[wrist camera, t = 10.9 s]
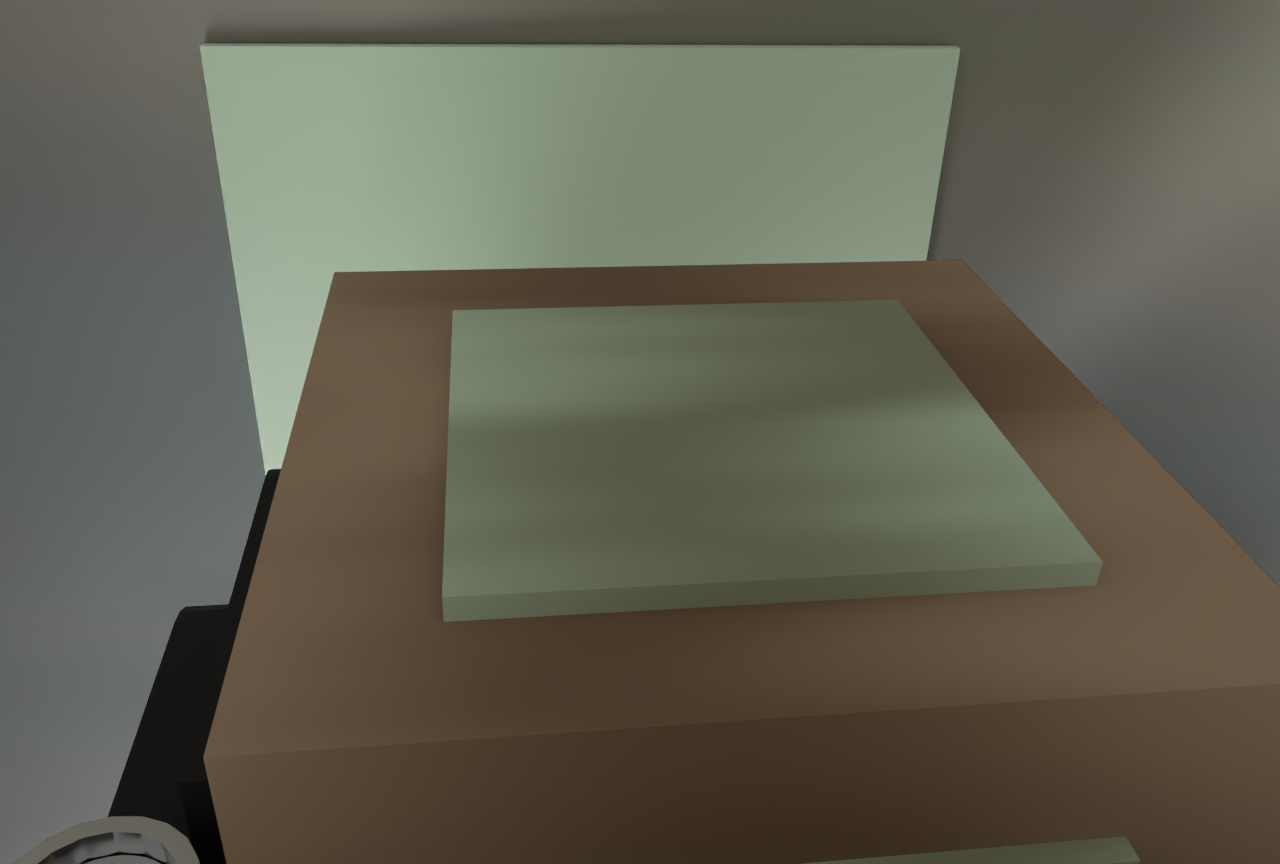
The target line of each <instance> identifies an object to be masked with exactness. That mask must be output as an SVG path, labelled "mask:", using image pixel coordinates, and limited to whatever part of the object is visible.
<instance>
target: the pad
mask: <svg viewBox="0 0 1280 864" xmlns="http://www.w3.org/2000/svg"><path fill="white" fill-rule="evenodd" d="M960 49H961V48H959V47H957V46H888V45H571V44H254V43H202V44H201V45H200V53H201V59H202V66H203V72H204V79H205V85H206V92H207V98H208V105H209V111H210V118H211V124H212V131H213V137H214V144H215V150H216V157H217V163H218V170H219V176H220V183H221V189H222V196H223V202H224V209H225V215H226V222H227V228H228V235H229V241H230V248H231V254H232V261H233V267H234V274H235V280H236V287H237V293H238V300H239V306H240V313H241V319H242V326H243V332H244V339H245V345H246V352H247V358H248V365H249V371H250V378H251V384H252V391H253V397H254V404H255V410H256V417H257V423H258V430H259V436H260V443H261V449H262V456H263V462H264V469H265V475H266V474H267V472H268V470H270V469H281V468H282V464H283V460H284V456H285V453H286V449H287V445H288V442H289V438H290V434H291V431H292V427H293V423H294V419H295V416H296V412H297V408H298V405H299V401H300V397H301V394H302V390H303V386H304V382H305V379H306V375H307V371H308V368H309V364H310V360H311V356H312V353H313V349H314V345H315V342H316V338H317V334H318V331H319V327H320V323H321V319H322V316H323V312H324V308H325V305H326V301H327V297H328V294H329V290H330V286H331V282H332V279H333V275H334V272H367V271H418V270H470V269H521V268H573V267H625V266H676V265H728V264H779V263H831V262H883V261H926V260H927V253H928V247H929V241H930V235H931V229H932V222H933V216H934V210H935V204H936V198H937V191H938V185H939V179H940V173H941V167H942V160H943V154H944V148H945V142H946V136H947V129H948V123H949V117H950V111H951V105H952V98H953V92H954V86H955V80H956V74H957V67H958V61H959V55H960Z"/></svg>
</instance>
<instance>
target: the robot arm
mask: <svg viewBox="0 0 1280 864" xmlns="http://www.w3.org/2000/svg"><path fill="white" fill-rule="evenodd" d="M280 471H281V469H270V470H268V472H267V474H266V477H265V480H264V484H263V487H262V491H261V494H260V498H259V501H258V505H257V508H256V512H255V515H254V519H253V522H252V526H251V529H250V533H249V536H248V540H247V543H246V547H245V550H244V554H243V557H242V561H241V564H240V567H239V571H238V574H237V578H236V581H235V585H234V588H233V592H232V595H231V599H230V602H229V604H228V605H209V606H190V607H185V608H184V609H182V610H181V611H180V612H179V615H178V617H177V619H176V621H175V623H174V626H173V629H172V632H171V635H170V638H169V641H168V643H167V646H166V649H165V652H164V655H163V658H162V661H161V664H160V667H159V670H158V673H157V675H156V678H155V681H154V684H153V687H152V690H151V693H150V696H149V699H148V702H147V705H146V707H145V710H144V713H143V716H142V719H141V722H140V725H139V728H138V731H137V734H136V737H135V739H134V742H133V745H132V748H131V751H130V754H129V757H128V760H127V763H126V766H125V769H124V771H123V774H122V777H121V780H120V783H119V786H118V789H117V792H116V795H115V798H114V801H113V803H112V806H111V809H110V812H109V815H108V817H107V818H103V819H98V820H94V821H90V822H85V823H81V824H78V825H76V826H74V827H71V828H69V829H67V830H65V831H62V832H60V833H58V834H56V835H54V836H51V837H49V838H47V839H46V840H44V841H43V842H41V843H40V844H39V845H37V846H36V847H34V848H33V849H31V850H30V851H29V852H27V853H26V854H24V855H23V856H21V857H20V858H19V859H18V860H17V861H16V862H15V863H14V864H227V863H226V859H225V854H224V850H223V845H222V841H221V836H220V832H219V827H218V822H217V818H216V813H215V809H214V804H213V800H212V795H211V791H210V786H209V782H208V777H207V773H206V768H205V763H204V759H203V756H204V753H205V749H206V745H207V742H208V738H209V734H210V731H211V727H212V723H213V719H214V716H215V712H216V708H217V705H218V701H219V697H220V694H221V690H222V686H223V682H224V679H225V675H226V671H227V668H228V664H229V660H230V656H231V653H232V649H233V645H234V642H235V638H236V634H237V631H238V627H239V623H240V619H241V616H242V612H243V608H244V605H245V601H246V597H247V594H248V590H249V586H250V582H251V579H252V575H253V571H254V568H255V564H256V560H257V556H258V553H259V549H260V545H261V542H262V538H263V534H264V531H265V527H266V523H267V519H268V516H269V512H270V508H271V505H272V501H273V497H274V494H275V490H276V486H277V482H278V479H279V475H280Z"/></svg>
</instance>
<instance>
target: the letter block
mask: <svg viewBox="0 0 1280 864" xmlns="http://www.w3.org/2000/svg"><path fill="white" fill-rule="evenodd" d="M203 759H204V763H205V768H206V773H207V777H208V782H209V786H210V791H211V795H212V800H213V804H214V809H215V813H216V818H217V822H218V827H219V832H220V836H221V841H222V845H223V850H224V854H225V859H226V863H227V864H1280V586H1279V585H1278V584H1277V583H1276V582H1275V581H1274V580H1273V579H1272V578H1271V577H1270V576H1269V575H1268V574H1267V573H1266V572H1265V571H1264V570H1263V569H1262V568H1261V567H1260V566H1259V565H1258V564H1257V563H1256V562H1255V561H1254V560H1253V559H1252V558H1251V557H1250V556H1249V555H1248V554H1247V553H1246V551H1245V550H1244V549H1243V548H1242V547H1241V546H1240V545H1239V544H1238V543H1237V542H1236V541H1235V540H1234V539H1233V538H1232V537H1231V536H1230V535H1229V534H1228V533H1227V532H1226V531H1225V530H1224V529H1223V528H1222V527H1221V526H1220V525H1219V524H1218V523H1217V522H1216V521H1215V520H1214V519H1213V518H1212V517H1211V516H1210V515H1209V513H1208V512H1207V511H1206V510H1205V509H1204V508H1203V507H1202V506H1201V505H1200V504H1199V503H1198V502H1197V501H1196V500H1195V499H1194V498H1193V497H1192V496H1191V495H1190V494H1189V493H1188V492H1187V491H1186V490H1185V489H1184V488H1183V487H1182V486H1181V485H1180V484H1179V483H1178V482H1177V481H1176V480H1175V479H1174V478H1173V477H1172V475H1171V474H1170V473H1169V472H1168V471H1167V470H1166V469H1165V468H1164V467H1163V466H1162V465H1161V464H1160V463H1159V462H1158V461H1157V460H1156V459H1155V458H1154V457H1153V456H1152V455H1151V454H1150V453H1149V452H1148V451H1147V450H1146V449H1145V448H1144V447H1143V446H1142V445H1141V444H1140V443H1139V442H1138V441H1137V440H1136V439H1135V437H1134V436H1133V435H1132V434H1131V433H1130V432H1129V431H1128V430H1127V429H1126V428H1125V427H1124V426H1123V425H1122V424H1121V423H1120V422H1119V421H1118V420H1117V419H1116V418H1115V417H1114V416H1113V415H1112V414H1111V413H1110V412H1109V411H1108V410H1107V409H1106V408H1105V407H1104V406H1103V405H1102V404H1101V403H1100V402H1099V401H1098V399H1097V398H1096V397H1095V396H1094V395H1093V394H1092V393H1091V392H1090V391H1089V390H1088V389H1087V388H1086V387H1085V386H1084V385H1083V384H1082V383H1081V382H1080V381H1079V380H1078V379H1077V378H1076V377H1075V376H1074V375H1073V374H1072V373H1071V372H1070V371H1069V370H1068V369H1067V368H1066V367H1065V366H1064V365H1063V364H1062V363H1061V361H1060V360H1059V359H1058V358H1057V357H1056V356H1055V355H1054V354H1053V353H1052V352H1051V351H1050V350H1049V349H1048V348H1047V347H1046V346H1045V345H1044V344H1043V343H1042V342H1041V341H1040V340H1039V339H1038V338H1037V337H1036V336H1035V335H1034V334H1033V333H1032V332H1031V331H1030V330H1029V329H1028V328H1027V327H1026V326H1025V325H1024V323H1023V322H1022V321H1021V320H1020V319H1019V318H1018V317H1017V316H1016V315H1015V314H1014V313H1013V312H1012V311H1011V310H1010V309H1009V308H1008V307H1007V306H1006V305H1005V304H1004V303H1003V302H1002V301H1001V300H1000V299H999V298H998V297H997V296H996V295H995V294H994V293H993V292H992V291H991V290H990V289H989V288H988V287H987V286H986V284H985V283H984V282H983V281H982V280H981V279H980V278H979V277H978V276H977V275H976V274H975V273H974V272H973V271H972V270H971V269H970V268H969V267H968V266H967V265H966V264H965V263H964V262H963V261H962V260H934V261H883V262H831V263H779V264H728V265H676V266H625V267H573V268H521V269H470V270H418V271H367V272H334V275H333V279H332V282H331V286H330V290H329V294H328V297H327V301H326V305H325V308H324V312H323V316H322V319H321V323H320V327H319V331H318V334H317V338H316V342H315V345H314V349H313V353H312V356H311V360H310V364H309V368H308V371H307V375H306V379H305V382H304V386H303V390H302V394H301V397H300V401H299V405H298V408H297V412H296V416H295V419H294V423H293V427H292V431H291V434H290V438H289V442H288V445H287V449H286V453H285V456H284V460H283V464H282V468H281V471H280V475H279V479H278V482H277V486H276V490H275V494H274V497H273V501H272V505H271V508H270V512H269V516H268V519H267V523H266V527H265V531H264V534H263V538H262V542H261V545H260V549H259V553H258V556H257V560H256V564H255V568H254V571H253V575H252V579H251V582H250V586H249V590H248V594H247V597H246V601H245V605H244V608H243V612H242V616H241V619H240V623H239V627H238V631H237V634H236V638H235V642H234V645H233V649H232V653H231V656H230V660H229V664H228V668H227V671H226V675H225V679H224V682H223V686H222V690H221V694H220V697H219V701H218V705H217V708H216V712H215V716H214V719H213V723H212V727H211V731H210V734H209V738H208V742H207V745H206V749H205V753H204V756H203Z"/></svg>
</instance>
